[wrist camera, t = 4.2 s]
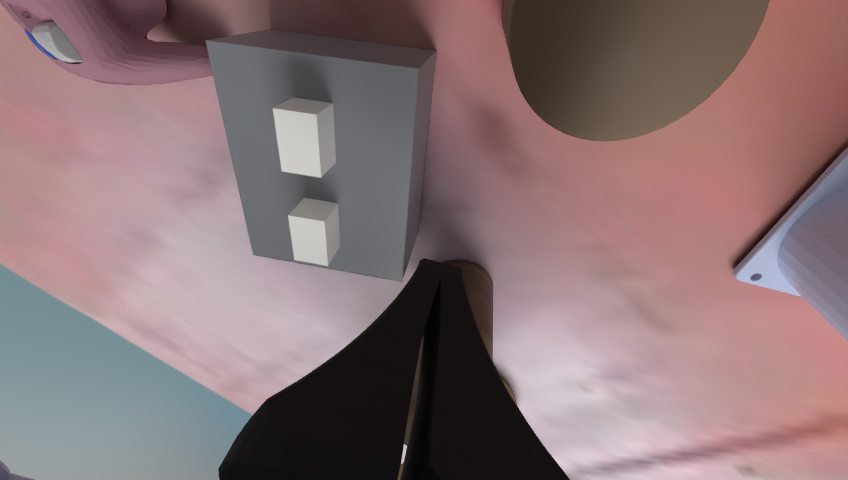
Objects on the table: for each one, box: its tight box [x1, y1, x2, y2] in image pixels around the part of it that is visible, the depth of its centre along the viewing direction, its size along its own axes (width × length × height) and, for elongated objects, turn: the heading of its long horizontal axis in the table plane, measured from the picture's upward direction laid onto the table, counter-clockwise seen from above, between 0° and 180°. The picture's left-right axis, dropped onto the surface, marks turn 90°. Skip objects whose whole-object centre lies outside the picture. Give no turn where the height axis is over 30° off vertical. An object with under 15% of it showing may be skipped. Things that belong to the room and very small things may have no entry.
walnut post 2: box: [502, 0, 770, 141], centre depth 11 cm, size 4×4×10 cm
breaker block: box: [205, 30, 437, 282], centre depth 17 cm, size 8×10×7 cm
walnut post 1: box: [404, 260, 493, 446], centre depth 20 cm, size 4×4×10 cm
